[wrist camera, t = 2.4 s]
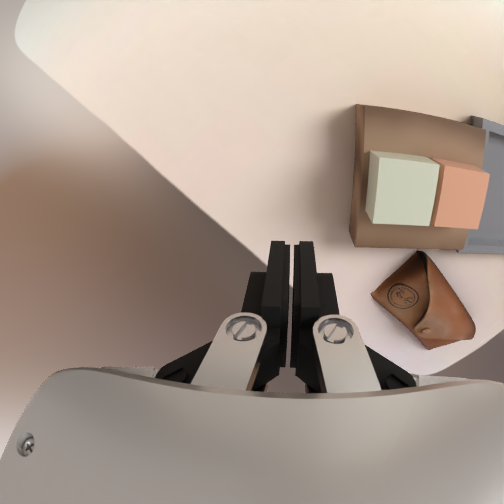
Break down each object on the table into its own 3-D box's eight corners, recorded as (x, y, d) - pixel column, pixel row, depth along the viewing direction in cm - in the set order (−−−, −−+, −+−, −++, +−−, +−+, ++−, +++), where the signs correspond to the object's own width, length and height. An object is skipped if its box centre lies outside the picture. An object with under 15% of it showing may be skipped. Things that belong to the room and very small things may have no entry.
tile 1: (430, 157, 18) (445, 165, 16) (474, 165, 17) (489, 174, 15) (422, 213, 21) (434, 226, 18) (464, 216, 20) (477, 229, 18)
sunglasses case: (363, 295, 29) (400, 313, 23) (394, 244, 29) (435, 252, 23) (429, 351, 34) (458, 369, 27) (452, 312, 34) (483, 325, 27)
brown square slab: (355, 104, 20) (364, 105, 17) (468, 124, 18) (486, 129, 15) (349, 231, 26) (354, 247, 23) (450, 235, 24) (463, 249, 21)
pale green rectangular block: (370, 150, 19) (379, 157, 17) (425, 156, 18) (439, 164, 16) (365, 210, 21) (372, 223, 19) (417, 213, 21) (429, 226, 18)
